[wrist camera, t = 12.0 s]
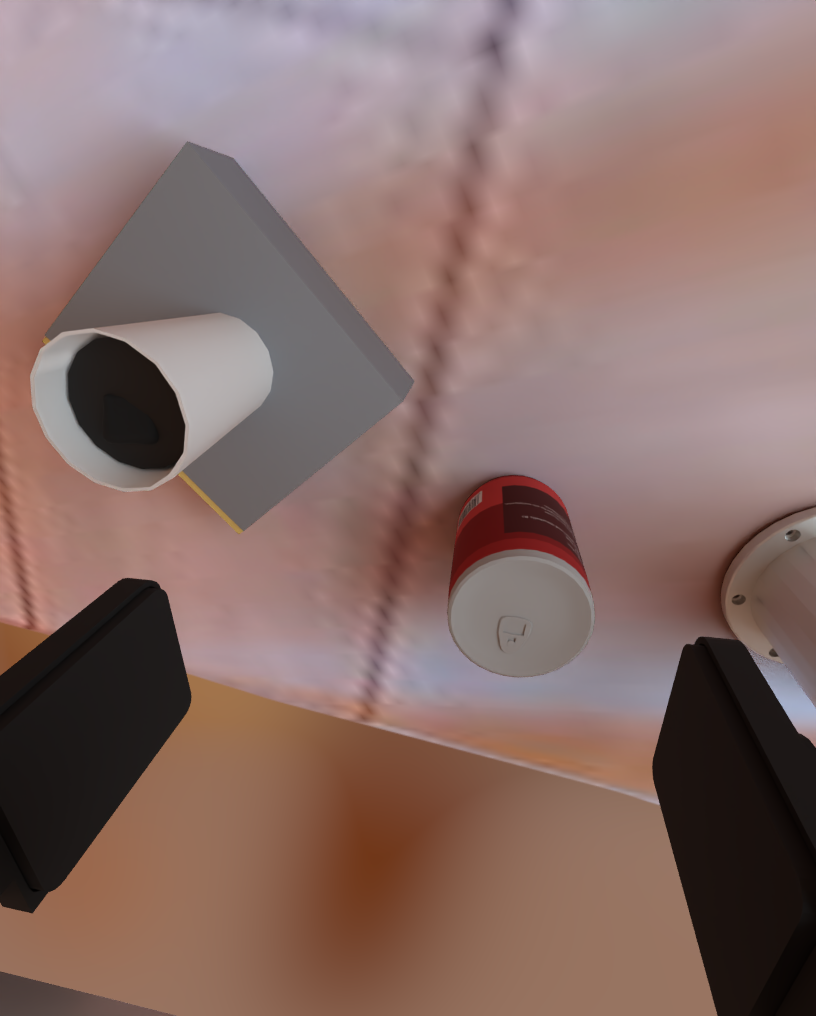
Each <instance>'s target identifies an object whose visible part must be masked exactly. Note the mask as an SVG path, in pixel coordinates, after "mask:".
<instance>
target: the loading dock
mask: <svg viewBox="0 0 816 1016" xmlns="http://www.w3.org/2000/svg"><path fill="white" fill-rule="evenodd" d="M212 313H223V314H226V315H229V316H232V317H236V318H239V319H241V320H242V321H243V322H244V323H246V324H247V325H248V326H249V327H251V328H252V329H253V330H254V331H256V332H257V333H258V335H259V337H260V338H261V340H262V341H263V343H264V345H265V346H266V348H267V349H268V351H269V355H270V359H271V363H272V368H273V378H272V385H271V391H270V393H269V394H268V396H267V397H266V399H265V400H264V402H263V403H262V405H261V406H260V407H259V408H257V409H256V410H255V411H254V412H253V413H251V414H250V415H249V416H248V417H247V418H245V419H244V420H243V421H242V422H240V423H239V424H238V425H237V426H236V427H234V428H233V429H232V430H231V431H230V432H228V433H227V434H226V435H225V436H224V437H222V438H221V439H220V440H219V441H217V442H216V443H215V444H214V445H213V446H211V447H210V448H209V449H208V450H207V451H205V452H204V453H203V454H202V455H201V456H199V457H198V458H197V459H196V460H195V461H193V462H192V463H191V464H190V465H188V466H187V467H186V468H185V469H184V470H182V471H181V472H180V473H179V474H178V475H179V476H180V477H181V478H182V479H183V480H184V481H185V482H186V483H187V484H188V485H189V486H190V487H191V488H192V489H193V490H194V491H195V492H196V493H197V494H198V495H199V496H200V497H201V498H202V499H203V500H204V501H205V502H206V503H207V504H208V505H209V506H210V507H211V508H212V509H213V510H215V511H216V512H217V513H218V514H219V515H220V516H221V517H222V518H223V519H224V520H225V521H226V522H227V523H228V524H229V525H230V526H231V527H232V528H233V529H234V530H235V531H236V532H237V533H238V534H240V533H241V532H243V531H244V530H246V529H247V528H248V527H249V526H251V525H252V524H253V523H254V522H255V521H257V520H258V519H259V518H260V517H262V516H263V515H264V514H265V513H267V512H268V511H269V510H270V509H271V508H273V507H274V506H275V505H276V504H278V503H279V502H280V501H281V500H282V499H284V498H285V497H286V496H287V495H289V494H290V493H291V492H292V491H294V490H295V489H296V488H297V487H298V486H300V485H301V484H302V483H303V482H305V481H306V480H307V479H308V478H309V477H311V476H312V475H313V474H314V473H316V472H317V471H318V470H319V469H321V468H322V467H323V466H324V465H325V464H327V463H328V462H329V461H330V460H332V459H333V458H334V457H335V456H336V455H338V454H339V453H340V452H341V451H343V450H344V449H345V448H346V447H348V446H349V445H350V444H351V443H352V442H354V441H355V440H356V439H357V438H359V437H360V436H361V435H362V434H363V433H365V432H366V431H367V430H368V429H370V428H371V427H372V426H373V425H375V424H376V423H377V422H378V421H379V420H381V419H382V418H383V417H384V416H386V415H387V414H388V413H389V412H390V411H392V410H393V409H394V408H395V407H397V406H398V405H399V404H400V403H401V402H403V400H404V399H405V397H406V395H407V393H408V392H409V390H410V388H411V387H412V385H413V383H414V380H413V379H412V378H411V377H410V375H409V374H408V373H407V372H406V370H405V369H404V368H403V367H402V366H401V364H400V363H399V362H398V361H397V359H396V358H395V357H394V356H393V354H392V353H391V352H390V351H389V349H388V348H387V347H386V346H385V345H384V343H383V342H382V341H381V340H380V338H379V337H378V336H377V335H376V333H375V332H374V331H373V330H372V329H371V327H370V326H369V325H368V324H367V322H366V321H365V320H364V319H363V317H362V316H361V315H360V314H359V313H358V311H357V310H356V309H355V308H354V306H353V305H352V304H351V303H350V301H349V300H348V299H347V298H346V297H345V295H344V294H343V293H342V292H341V290H340V289H339V288H338V287H337V285H336V284H335V283H334V282H333V280H332V279H331V278H330V277H329V276H328V274H327V273H326V272H325V271H324V269H323V268H322V267H321V266H320V264H319V263H318V262H317V261H316V260H315V258H314V257H313V256H312V255H311V253H310V252H309V251H308V250H307V248H306V247H305V246H304V245H303V244H302V242H301V241H300V240H299V239H298V237H297V236H296V235H295V234H294V232H293V231H292V230H291V229H290V228H289V226H288V225H287V224H286V223H285V221H284V220H283V219H282V218H281V216H280V215H279V214H278V213H277V211H276V210H275V209H274V208H273V207H272V205H271V204H270V203H269V202H268V200H267V199H266V198H265V197H264V195H263V194H262V193H261V192H260V191H259V189H258V188H257V187H256V186H255V184H254V183H253V182H252V181H251V179H250V178H249V177H248V176H247V175H246V173H245V172H244V171H243V170H242V168H241V167H240V166H239V165H238V163H237V162H236V161H235V160H234V159H233V158H231V157H229V156H226V155H223V154H220V153H218V152H215V151H212V150H209V149H207V148H204V147H201V146H198V145H196V144H193V143H190V142H186V144H185V145H184V147H183V148H182V149H181V151H180V152H179V153H178V155H177V156H176V157H175V159H174V160H173V161H172V163H171V164H170V166H169V167H168V168H167V170H166V171H165V172H164V174H163V175H162V176H161V178H160V179H159V180H158V182H157V183H156V185H155V186H154V187H153V189H152V190H151V191H150V193H149V194H148V195H147V197H146V198H145V199H144V201H143V202H142V204H141V205H140V206H139V208H138V209H137V210H136V212H135V213H134V214H133V216H132V217H131V218H130V220H129V221H128V222H127V224H126V225H125V227H124V228H123V229H122V231H121V232H120V233H119V235H118V236H117V237H116V239H115V240H114V241H113V243H112V244H111V246H110V247H109V248H108V250H107V251H106V252H105V254H104V255H103V256H102V258H101V259H100V260H99V262H98V263H97V265H96V266H95V267H94V269H93V270H92V271H91V273H90V274H89V275H88V277H87V278H86V279H85V281H84V282H83V284H82V285H81V286H80V288H79V289H78V290H77V292H76V293H75V294H74V296H73V297H72V298H71V300H70V301H69V303H68V304H67V305H66V307H65V308H64V309H63V311H62V312H61V313H60V315H59V316H58V317H57V319H56V320H55V322H54V323H53V324H52V326H51V327H50V328H49V330H48V331H47V332H46V334H45V336H46V337H45V338H44V339H43V341H42V342H43V343H44V344H45V345H46V344H47V343H49V342H50V341H51V340H53V339H54V338H55V337H57V336H58V335H59V334H60V333H62V332H67V331H75V330H83V329H91V328H99V327H107V326H115V325H123V324H131V323H140V322H148V321H156V320H164V319H172V318H180V317H189V316H197V315H204V314H212Z"/></svg>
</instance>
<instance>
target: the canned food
mask: <svg viewBox="0 0 816 1016" xmlns="http://www.w3.org/2000/svg"><path fill="white" fill-rule="evenodd" d="M447 614H448V624H449V630H450V633H451V635H452V638H453V640H454V642H455V644H456V645H457V647H458V648H459V650H460V651H461V652H462V653H463V654H464V655H465V656H466V657H467V658H468V659H469V660H470V661H472V662H473V663H475V664H476V665H478V666H479V667H481V668H483V669H485V670H488V671H490V672H492V673H496V674H500V675H503V676H511V677H533V676H538V675H543V674H547V673H549V672H552V671H555V670H557V669H559V668H561V667H563V666H564V665H566V664H568V663H569V662H570V661H572V660H573V659H574V658H575V657H576V656H578V655H579V654H580V652H581V651H582V650H583V648H584V647H585V646H586V645H587V643H588V641H589V639H590V637H591V634H592V631H593V627H594V622H595V612H594V601H593V598H592V594H591V590H590V586H589V582H588V579H587V575H586V572H585V569H584V566H583V562H582V559H581V556H580V552H579V549H578V546H577V543H576V539H575V536H574V533H573V530H572V526H571V523H570V520H569V516H568V513H567V510H566V508H565V506H564V504H563V502H562V500H561V499H560V497H559V496H558V495H557V494H556V493H555V492H554V491H553V490H552V489H550V488H549V487H548V486H547V485H545V484H544V483H542V482H540V481H538V480H535V479H533V478H530V477H526V476H518V475H510V476H502V477H499V478H496V479H493V480H491V481H489V482H487V483H485V484H483V485H482V486H481V487H479V488H478V489H477V490H476V491H475V492H474V493H472V495H471V496H470V497H469V498H468V499H467V501H466V502H465V504H464V506H463V508H462V510H461V512H460V515H459V519H458V525H457V532H456V540H455V548H454V555H453V563H452V571H451V578H450V586H449V597H448V609H447Z"/></svg>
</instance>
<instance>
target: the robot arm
mask: <svg viewBox="0 0 816 1016" xmlns="http://www.w3.org/2000/svg"><path fill="white" fill-rule="evenodd" d="M721 606H722V610H723V614H724V617H725V619H726V621H727V623H728V624H729V626H730V628H731V630H732V631H733V632H734V634H735V635H736V637H737V638H738V639H739V641H738V640H732V639H722V638H712V637H699V638H698V639H697V640H696V642H695V644H694V645H692V644H686V645H685V646H684V648H683V650H682V654H681V657H680V661H679V665H678V668H677V672H676V676H675V680H674V683H673V687H672V691H671V694H670V698H669V702H668V706H667V709H666V713H665V717H664V720H663V724H662V728H661V731H660V735H659V739H658V743H657V746H656V750H655V754H654V757H653V766H652V769H653V780H654V784H655V788H656V792H657V795H658V799H659V803H660V806H661V810H662V813H663V817H664V821H665V824H666V828H667V832H668V836H669V839H670V843H671V846H672V850H673V854H674V858H675V861H676V865H677V869H678V872H679V876H680V880H681V883H682V887H683V890H684V894H685V898H686V901H687V905H688V908H689V912H690V916H691V919H692V924H693V927H694V930H695V934H696V938H697V942H698V945H699V949H700V953H701V956H702V960H703V964H704V967H705V971H706V975H707V978H708V982H709V985H710V989H711V993H712V996H713V1000H714V1004H715V1007H716V1011H717V1015H718V1016H816V748H815V746H814V745H813V744H812V743H811V741H810V740H809V739H808V738H806V737H805V736H803V735H802V734H798V732H797V730H796V729H795V727H794V726H793V724H792V722H791V721H790V719H789V717H788V716H787V714H786V712H785V711H784V709H783V707H782V706H781V704H780V703H779V701H778V699H777V698H776V696H775V694H774V693H773V691H772V689H771V688H770V686H769V685H768V683H767V681H766V680H765V678H764V676H763V675H762V673H761V671H760V670H759V668H758V667H757V665H756V663H755V662H754V660H753V658H752V657H751V655H750V653H749V652H748V650H747V649H746V647H747V648H749V649H750V650H751V651H753V652H755V653H757V654H758V655H760V656H762V657H764V658H767V659H770V660H773V661H776V662H779V663H783V664H785V665H786V667H787V668H788V670H789V671H790V672H791V674H792V675H793V677H794V678H795V679H796V681H797V682H798V684H799V685H800V686H801V688H802V689H803V691H804V692H805V693H806V695H807V696H808V698H809V699H810V700H811V702H812V703H813V705H814V706H815V707H816V507H814V508H811V509H808V510H805V511H802V512H798V513H795V514H793V515H791V516H789V517H786V518H784V519H782V520H780V521H778V522H776V523H774V524H773V525H771V526H769V527H768V528H766V529H765V530H763V531H762V532H760V533H759V534H757V535H756V536H755V537H754V538H753V539H752V540H751V541H750V542H749V543H747V544H746V545H745V546H744V547H743V548H742V550H741V551H740V552H739V553H738V555H737V556H736V557H735V558H734V560H733V561H732V563H731V565H730V567H729V569H728V571H727V572H726V574H725V577H724V581H723V585H722V588H721ZM744 645H745V646H746V647H745V646H744ZM190 703H191V691H190V687H189V682H188V678H187V674H186V670H185V666H184V662H183V658H182V654H181V650H180V645H179V641H178V637H177V633H176V629H175V625H174V621H173V617H172V612H171V608H170V604H169V600H168V596H167V594H166V592H165V591H164V590H162V589H161V588H160V585H159V584H158V583H157V582H155V581H152V580H142V579H132V578H125V579H122V580H120V581H118V582H117V583H116V584H114V585H113V586H112V587H111V588H109V589H108V590H107V591H106V592H104V593H103V594H102V595H101V596H99V597H98V598H97V599H96V600H94V601H93V602H92V603H91V604H89V605H88V606H87V607H86V608H84V609H83V610H82V611H81V612H79V613H78V614H77V615H76V616H74V617H73V618H72V619H71V620H69V621H68V622H67V623H66V624H64V625H63V626H62V627H61V628H59V629H58V630H57V631H56V632H54V633H53V634H52V635H51V636H49V637H48V638H47V639H46V640H44V641H43V642H42V643H41V644H39V645H38V646H37V647H36V648H35V649H33V650H32V651H31V652H29V653H28V654H27V655H26V656H24V657H23V658H22V659H21V660H19V661H18V662H17V663H16V664H14V665H13V666H12V667H11V668H9V669H8V670H7V671H6V672H4V673H3V674H2V675H1V676H0V903H1V905H2V906H3V907H7V908H11V909H16V910H21V911H25V912H29V913H33V912H34V911H35V909H36V908H37V907H38V905H39V904H40V902H41V901H42V900H43V899H44V897H45V896H46V894H47V893H48V892H50V891H53V890H55V889H56V888H57V887H58V886H60V885H61V884H62V882H63V881H64V880H65V879H66V877H67V876H68V874H69V873H70V872H71V871H72V869H73V868H74V867H75V865H76V864H77V862H78V861H79V860H80V858H81V857H82V856H83V854H84V853H85V851H86V850H87V849H88V847H89V846H90V845H91V843H92V842H93V841H94V839H95V838H96V836H97V835H98V834H99V832H100V831H101V830H102V828H103V827H104V825H105V824H106V823H107V821H108V820H109V819H110V817H111V816H112V814H113V813H114V812H115V810H116V809H117V808H118V806H119V805H120V804H121V802H122V801H123V799H124V798H125V797H126V795H127V794H128V793H129V791H130V790H131V789H132V787H133V786H134V784H135V783H136V782H137V780H138V779H139V778H140V776H141V775H142V773H143V772H144V771H145V769H146V768H147V767H148V765H149V764H150V763H151V761H152V760H153V758H154V757H155V756H156V754H157V753H158V752H159V750H160V749H161V747H162V746H163V745H164V743H165V742H166V741H167V739H168V738H169V737H170V735H171V734H172V732H173V731H174V730H175V728H176V727H177V726H178V724H179V723H180V721H181V720H182V719H183V717H184V716H185V714H186V713H187V711H188V709H189V707H190ZM0 1016H176V1015H171V1014H168V1013H164V1012H159V1011H156V1010H152V1009H148V1008H144V1007H140V1006H136V1005H132V1004H128V1003H124V1002H121V1001H117V1000H112V999H109V998H105V997H101V996H96V995H93V994H88V993H84V992H81V991H76V990H73V989H68V988H64V987H60V986H56V985H52V984H48V983H44V982H40V981H36V980H32V979H28V978H24V977H20V976H16V975H12V974H8V973H4V972H0Z"/></svg>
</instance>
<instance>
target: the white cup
mask: <svg viewBox="0 0 816 1016" xmlns="http://www.w3.org/2000/svg"><path fill="white" fill-rule="evenodd" d="M272 378H273V368H272V363H271V359H270V355H269V351H268V349H267V348H266V346H265V345H264V343H263V341H262V340H261V338H260V337H259V335H258V333H257V332H256V331H254V330H253V329H252V328H251V327H249V326H248V325H247V324H246V323H244V322H243V321H242V320H241V319H239V318H236V317H232V316H229V315H226V314H223V313H212V314H204V315H197V316H189V317H180V318H172V319H164V320H156V321H148V322H140V323H131V324H123V325H115V326H107V327H99V328H91V329H83V330H75V331H67V332H62V333H60V334H59V335H58V336H57V337H55V338H54V339H53V340H51V341H50V342H49V343H47V344H46V345H45V346H44V347H42V348H41V349H40V351H39V354H38V356H37V359H36V361H35V364H34V367H33V369H32V372H31V374H30V382H31V396H32V407H33V410H34V412H35V414H36V416H37V419H38V421H39V423H40V426H41V428H42V430H43V433H44V435H45V437H46V439H47V440H48V441H49V442H50V443H51V445H52V446H53V447H54V448H55V449H56V451H57V452H58V453H59V454H60V455H61V457H62V458H63V459H64V460H65V461H66V463H67V464H68V465H70V466H71V467H73V468H74V469H76V470H77V471H79V472H80V473H81V474H83V475H84V476H86V477H87V478H89V479H90V480H92V481H93V482H94V483H97V484H100V485H103V486H107V487H110V488H113V489H116V490H119V491H122V492H133V491H150V490H153V489H155V488H157V487H158V486H160V485H162V484H164V483H165V482H167V481H169V480H171V479H172V478H174V477H175V476H176V475H178V474H179V473H180V472H181V471H182V470H184V469H185V468H186V467H187V466H188V465H190V464H191V463H192V462H193V461H195V460H196V459H197V458H198V457H199V456H201V455H202V454H203V453H204V452H205V451H207V450H208V449H209V448H210V447H211V446H213V445H214V444H215V443H216V442H217V441H219V440H220V439H221V438H222V437H224V436H225V435H226V434H227V433H228V432H230V431H231V430H232V429H233V428H234V427H236V426H237V425H238V424H239V423H240V422H242V421H243V420H244V419H245V418H247V417H248V416H249V415H250V414H251V413H253V412H254V411H255V410H256V409H257V408H259V407H260V406H261V405H262V403H263V402H264V400H265V399H266V397H267V396H268V394H269V393H270V391H271V385H272Z"/></svg>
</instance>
